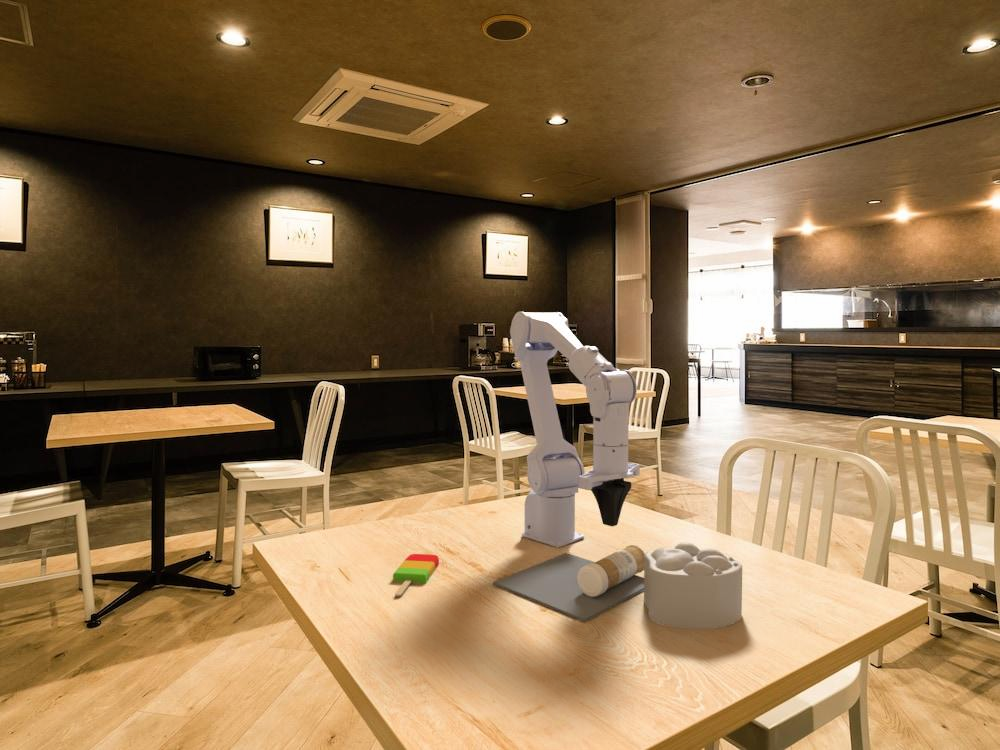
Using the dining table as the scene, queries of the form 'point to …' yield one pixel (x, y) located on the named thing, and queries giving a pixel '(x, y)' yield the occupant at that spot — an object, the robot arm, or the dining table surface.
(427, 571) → the popsicle
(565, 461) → the robot arm
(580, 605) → the rubber mat
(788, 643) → the dining table surface
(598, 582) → the sprinkles bottle
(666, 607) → the lumpy-topped squat cylinder
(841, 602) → the dining table surface
